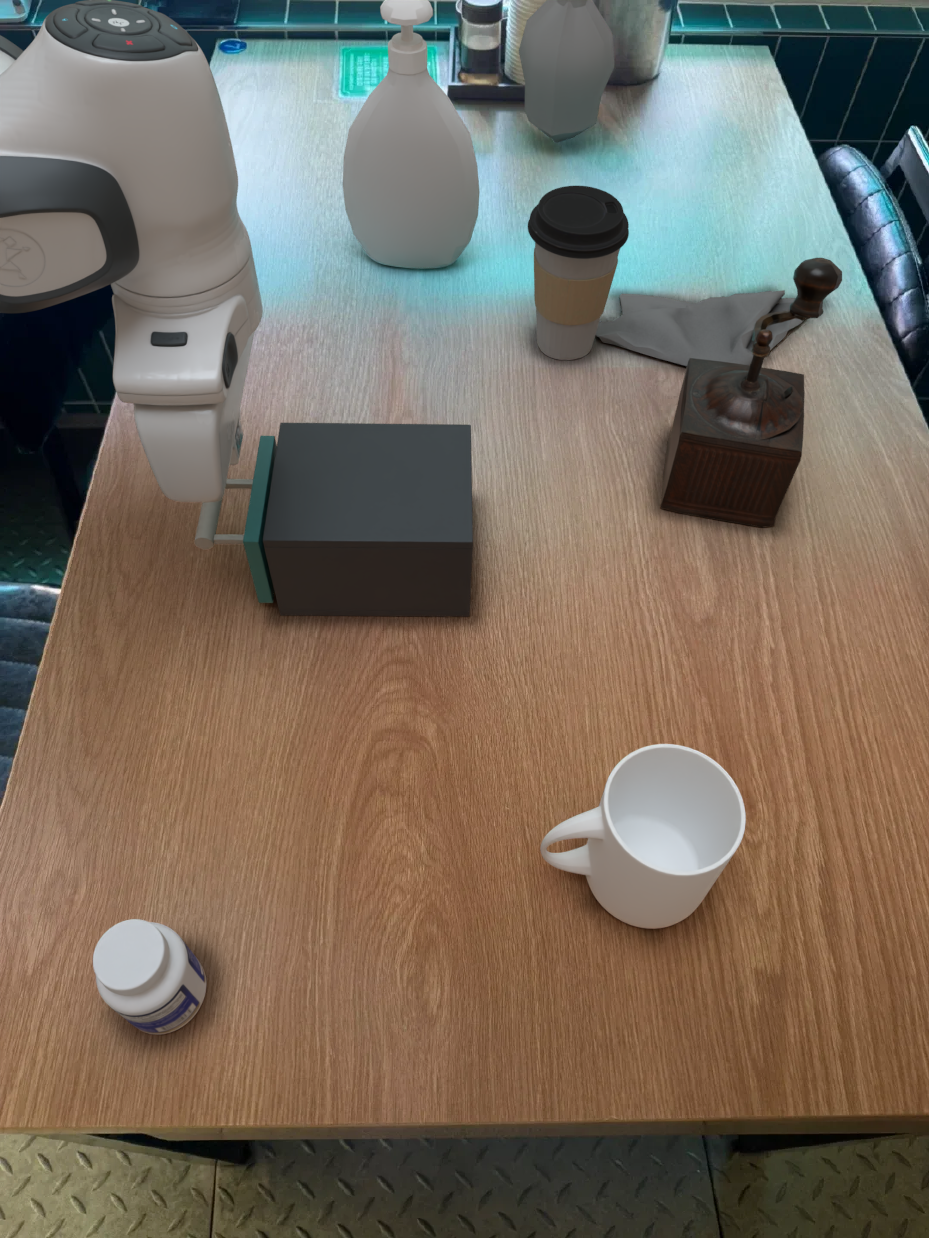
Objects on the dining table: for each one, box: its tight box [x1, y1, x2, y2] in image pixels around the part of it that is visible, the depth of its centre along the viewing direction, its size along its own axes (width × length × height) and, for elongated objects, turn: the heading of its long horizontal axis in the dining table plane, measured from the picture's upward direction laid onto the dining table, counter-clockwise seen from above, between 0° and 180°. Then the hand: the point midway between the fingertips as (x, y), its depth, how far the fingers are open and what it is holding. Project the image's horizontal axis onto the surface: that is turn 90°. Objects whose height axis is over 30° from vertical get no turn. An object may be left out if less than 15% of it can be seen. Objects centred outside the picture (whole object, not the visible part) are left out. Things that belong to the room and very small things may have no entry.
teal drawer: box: [194, 435, 277, 604], centre depth 78 cm, size 19×11×8 cm, turn 90°
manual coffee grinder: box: [660, 257, 843, 528], centre depth 82 cm, size 16×11×18 cm
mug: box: [539, 743, 747, 929], centre depth 61 cm, size 9×12×11 cm
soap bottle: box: [342, 0, 480, 270], centre depth 96 cm, size 14×8×27 cm, turn 86°
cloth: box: [595, 289, 804, 367], centre depth 99 cm, size 26×14×2 cm, turn 93°
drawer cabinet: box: [263, 422, 474, 618], centre depth 78 cm, size 16×13×10 cm
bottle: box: [518, 0, 615, 144], centre depth 110 cm, size 11×11×30 cm
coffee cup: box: [527, 185, 630, 361], centre depth 93 cm, size 9×9×15 cm
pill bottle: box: [92, 918, 207, 1035], centre depth 57 cm, size 5×5×9 cm
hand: (230, 451), depth 71 cm, fingers closed
